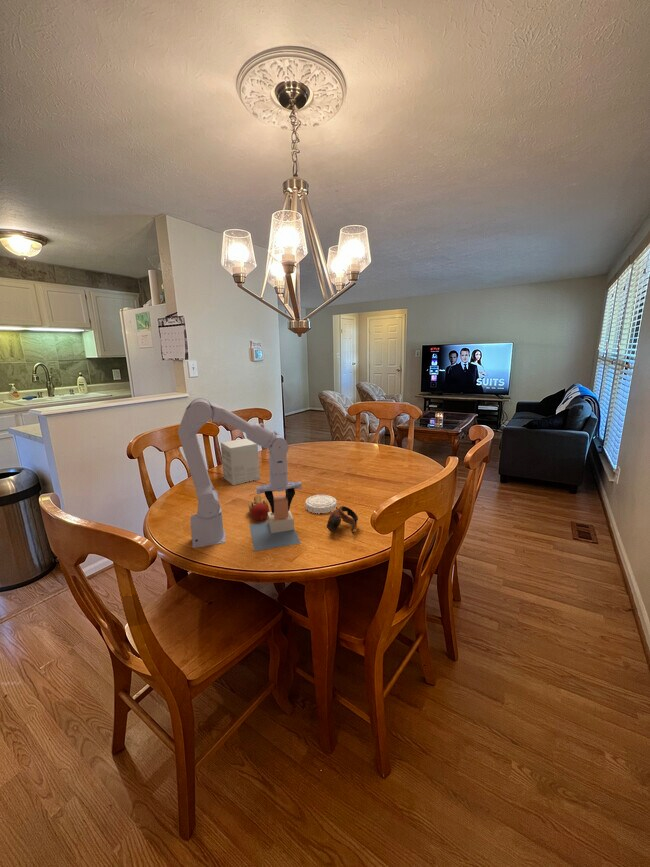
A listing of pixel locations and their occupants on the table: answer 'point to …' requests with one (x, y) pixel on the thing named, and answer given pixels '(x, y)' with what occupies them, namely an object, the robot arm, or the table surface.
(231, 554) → the table surface
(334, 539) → the table surface
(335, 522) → the brown looped piece
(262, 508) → the kendama
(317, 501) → the mooncake
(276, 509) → the terracotta block
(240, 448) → the supplement box
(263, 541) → the mat
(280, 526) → the base block
